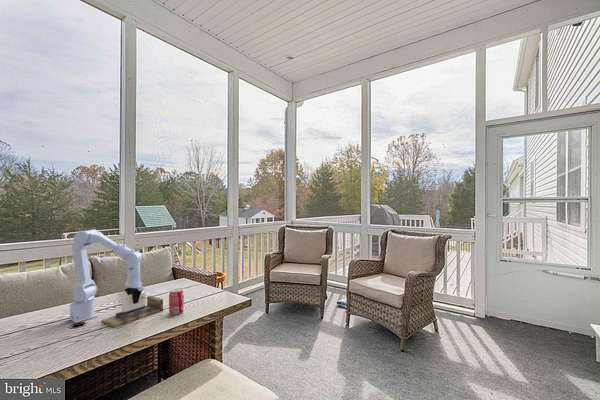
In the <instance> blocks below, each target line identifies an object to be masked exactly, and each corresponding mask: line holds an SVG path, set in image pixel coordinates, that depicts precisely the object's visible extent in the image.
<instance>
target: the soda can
mask: <svg viewBox="0 0 600 400" xmlns="http://www.w3.org/2000/svg"><path fill="white" fill-rule="evenodd" d="M184 294H185V292H184V291H183V289H182V288H173V289H170V293H169V294H168V311H169V314H170V315H172V316H178V315H180V314H182V313H183V312H184V310H185V309H184V307H185V305H184V304H185V303H184V302H185V298H184V297H185V295H184Z"/></svg>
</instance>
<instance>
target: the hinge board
mask: <svg viewBox="0 0 600 400" xmlns="http://www.w3.org/2000/svg"><path fill="white" fill-rule="evenodd" d="M163 311H164V299H162V298H160V297H157V296H153V295H147V296H146V305H145V306H143V307H139V308H136V309H133V310H130V311H127V312H124V311H122V310H121V311H120V312H119V311H118V312H116V313H115V315H113V316H110V317H106V318H104V319H101V323H103V324H105V323H106V324H105V325H107V326H109V327H111V328H114V329H115V328H118V327H121V326H123V325H127V324H128V323H132V322H135V321H137V320H140V319H143V318H146V317H148V316H149V317H150V316H152V315H155V314H157V313H160V312H163ZM120 325H121V326H120Z"/></svg>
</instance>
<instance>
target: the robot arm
mask: <svg viewBox="0 0 600 400" xmlns="http://www.w3.org/2000/svg"><path fill="white" fill-rule="evenodd" d="M95 243H96V244H100V245H102V246H104V247H106V248H108V249H110V250H111V251H112V253H113V254H114V255H115V256H117V257H119V258H121V259H122V260H124V262H125V264H126V267H127V273H126V274H127V280H126V282H124V287H126V288H125V289H124V291H125V293H126V296H127V295H130V294H131V295H132V299H133V304H135V303H138V301H139V297H140V295H141V292H142V291H143V292H144V285H143V282H142V281H141V261H142V259H143V254H142V253H141V252H140V251H138V250H136V251H135V249H131V248H130V247H128V246H127V244H125V243H124V244H123V243H119V244H117V243H116V242H115V241H114V240H113V239H111V238H109V237H107V236H105V235H104V234H103V232H101V231H99V230H97V229H94V228H93V229H89V230H80V231H78V232H76V233H75V234H74V236H73V242H72V246H71V252H72V257H73V263H74V269H75V277H76V278H75V279H76V284H75V285H74V286H73V293H72V299H73V300H74V302H73V303H70V305H69V321H72V322H73V323H75V324H77V323H80V322H82V321H86V320H89V319H93V318H96V317H98V314H96V313H95V297H96V295H97V294H98V292H99V289H98V287H97V284H96V283H95V280H93V279H92V278H91V273H90V272H91V271H90V266H89V259H88V252H87V249H88V248H89V247H90V245H92V244H95Z"/></svg>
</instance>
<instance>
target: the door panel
mask: <svg viewBox="0 0 600 400" xmlns="http://www.w3.org/2000/svg"><path fill="white" fill-rule="evenodd" d="M143 306H146V291H144V290H143V291H142V292H141V295H140V297H139V301H138V303H135V304H133V299H132V295H131V294H130V295H127V294H126V295H124V296H121V312H122V311H124V312H127V311H130V310H133V309H136V308H139V307H143Z"/></svg>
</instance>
